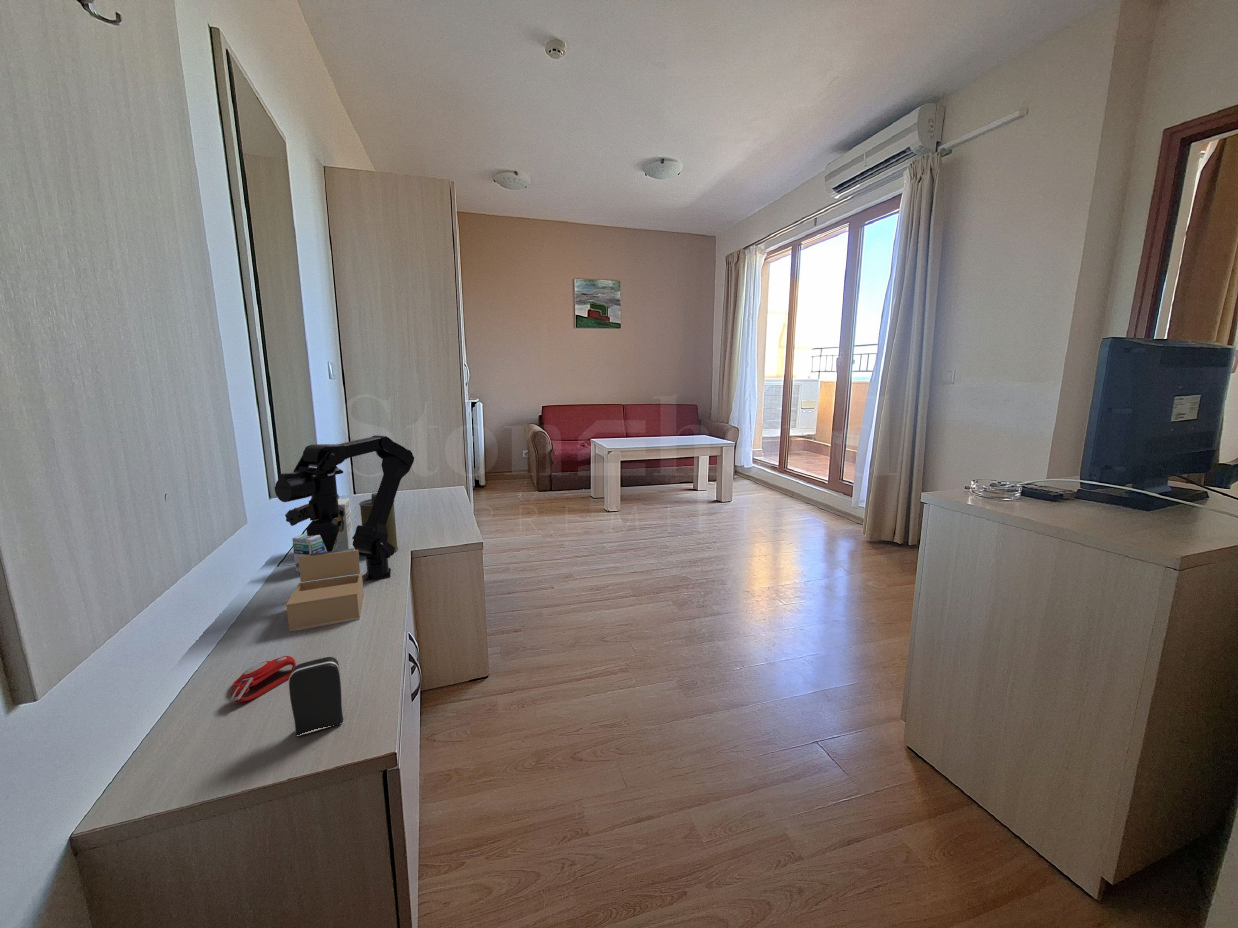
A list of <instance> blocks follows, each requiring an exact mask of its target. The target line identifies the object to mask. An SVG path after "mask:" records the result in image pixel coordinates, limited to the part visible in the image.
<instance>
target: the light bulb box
mask: <svg viewBox="0 0 1238 928" xmlns="http://www.w3.org/2000/svg"><path fill="white" fill-rule="evenodd" d="M291 541H292V546H293V555H294V556H293V557H294V566H295V567H294V568H295V572H297V573H300V570H299V560H298V557H303V556H310V554H313V553H321V552H327V550H326V547H325V545H324V543H323V540H322V538H321V536H320V535H315V536H307V532H305V533H303V534H299V535H297V536H294V537H292V539H291ZM337 550H339V540H338V536H337V539H336V541H335V544H334V547H333V550H332V551H337Z"/></svg>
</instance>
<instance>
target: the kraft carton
mask: <svg viewBox="0 0 1238 928" xmlns="http://www.w3.org/2000/svg"><path fill="white" fill-rule="evenodd" d="M364 593H365V592H364V583H363V575H362V573H360V574H354V575H347V576H340V577H333V578H326V579H319V580H312V581H305V582H300V583H298V584H297V586H296V588H295V590H294V591H293V592H292V593H291V595H290V597H289V599H288V601H287V603H286V605H285V606H286V614H287V622H288V630H289V633H290V632H296V631H300V630H306V629H307V630H308V629H314V628H319V627H324V626H330V625H335V624H341V623H345V622H352V621H356V620H357V621H358V620H360V619H361V611H362V606H363V603H364V602H363V601H364V596H365V595H364Z"/></svg>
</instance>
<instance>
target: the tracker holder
mask: <svg viewBox="0 0 1238 928" xmlns="http://www.w3.org/2000/svg"><path fill="white" fill-rule="evenodd" d="M296 663H297V662H296V660H295V659H294V657H292V656H290V655H283V656H279V657H277V658H274V659H272V660H267V661H263V662H260V663H258V664H256V665H254V666H252V667H251V668H249V669H246V670H245V671H244V672H243V673H242V674H241V675H240V676H239V677H238V678H237V679H236V680H234V681H233V682H232V687H233V688H234V689H233V690H232V692H231V695H230V698H229V699H228V702H229V703H230V702H234V703H243V702H244V703H245V702H247V701H251V700H253V699H255V698H258V697H260V696H262V695H264V694H265V693H266V692H268V691H271V690H272V689H274V688H276V687H277V686H279V685H280V684H282V683H284V682H286V681H287V680H289V677H290V675H291V672H292V670H293V668H294V667H295V666H297V665H296ZM287 666H291V669H290V671H289V672H287V673H286V674H284V675H282V676H281V677H279V678H278V679H276V680H274V681H273V682H271V683H269V684H267V685H266V686H264V687H262V688H260V689H259V690H257V691H255V692H254V693H252V694H250V695H248V696H245V697H244V696H243V695H244V694H247V693H248V692H249V691H250V687H254V686H256V685H257V684H260V683H261V682H262V681H264V680H266V679H267V678H269V677H270V676H272V675H274V673H275V674H276V672H278V671H279V670H281V669H282V668H284V667H287Z"/></svg>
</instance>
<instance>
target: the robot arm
mask: <svg viewBox="0 0 1238 928" xmlns="http://www.w3.org/2000/svg"><path fill="white" fill-rule="evenodd" d="M374 452H375V454H376V456H377V457H379V459H381V469H382V474H383V475H382V479H381V480H380V484H379V487H378V489H377V492H376V493H377V495H376V498H375V501H374V504H373V507H372V510H371V512H370V515H369V518H368V521H367V522H366V523H365V524H364V525H363V526H362V524H361V525H359V524H357V526H356V527H355V531H354V533H353V538H352V539H353V545H352V547H353V549H354V550H358V553H359V557H365V564H366V572H365V577H364V580H365V581H371V580H372V581H373V580H380V579H386V578H390V577H391V571H392V570H391V569H392V568H391V567H389V559H390V558H391V557H392V556H394V554H395V553H394V551H395V547H393V546H392V545H391V544H389V543H388V542H387V538H388V533H387V528H386V523H387V520H388V517H389V514H390V511H391V508H392V505H393V502H394V503H395V501H394V500H395V497H396V495H397V493H398V489H399V486H400V483H401V481H402V479H403V478H404V477H405V476H406V475H407V474H408V473H409V472H410V470H411V468H412V466H413V464H414V462H415V456H414V454H413V452H412V450H410V449H407V448H405V447H404V446H402V445H401V444H399V443H397V442H395V441H394V440H392V439H391V438H390V437H388V436H387V435H379V434H378V435H377V434H376V435H372V436H370V437H369V436H368V437H365V438H362V439H361V438H360V439H356V440H350V441H346V442H341V443H338V444H337V443H336V444H335V443H333V444H331V443H330V444H328V443H327V444H326V443H325V444H322V443H321V444H314V443H313V444H308V445H307V446H305V448H304V450H303V452H302V455H301V456H300V458H299V461H298V462H297V464H296V466H295V468H294V469H293V472H289V473H288V472H283V473H280V474H279V479H277V481H276V483H275V486H274V493H275V495H276V497H277V499H278V500H279V501H281V503H282V502H283V503H288V502H292V501H293V502H294V501H298V500H302V499H307V498H311V499H309V500H308V503H306V504H303V505H301V506H299V507H293V508H292V509H289V510H288V511H287V512H286V513H285V514H284V517H285V518H286V519H285V521H286V523H289V525H290V526H291V527H293V526H296V525H297V524H299V523H301V522H304V521H307V520H308V519H309V521H310V523H309V524H308V525H307V527H306V533H307V536H315V535H320V536H321V538H322V540H323V543H324V545H325V547H326V550H327V552H331V551H332V550H333V547H334V544H335V541H336V539H337V536H338V533H339V530H340V527H341V524H342V521H337V519H335V518H338V517H339V515H341V517H344V515H345V513H344V508H343V507H342V506H340V505H339V506H338V499H340V495H339V493H338V487H337V477H336V475H341V474H344V470H342V469H341V468H339V467H338V465H340V464H342V463H344V461H346V460H348V459H350V458H354V457H357V456H362V455H366V454H370V453H374Z"/></svg>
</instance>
